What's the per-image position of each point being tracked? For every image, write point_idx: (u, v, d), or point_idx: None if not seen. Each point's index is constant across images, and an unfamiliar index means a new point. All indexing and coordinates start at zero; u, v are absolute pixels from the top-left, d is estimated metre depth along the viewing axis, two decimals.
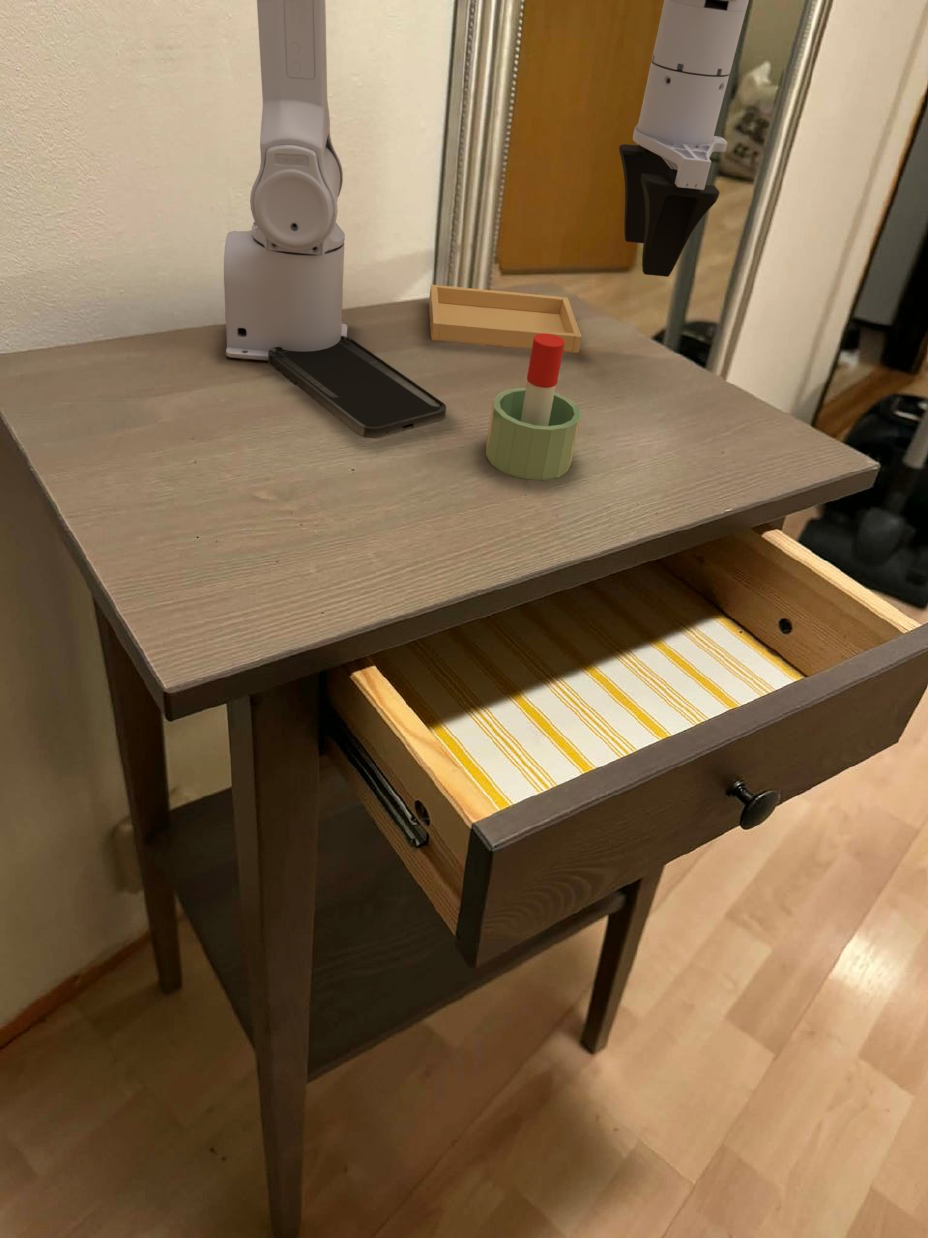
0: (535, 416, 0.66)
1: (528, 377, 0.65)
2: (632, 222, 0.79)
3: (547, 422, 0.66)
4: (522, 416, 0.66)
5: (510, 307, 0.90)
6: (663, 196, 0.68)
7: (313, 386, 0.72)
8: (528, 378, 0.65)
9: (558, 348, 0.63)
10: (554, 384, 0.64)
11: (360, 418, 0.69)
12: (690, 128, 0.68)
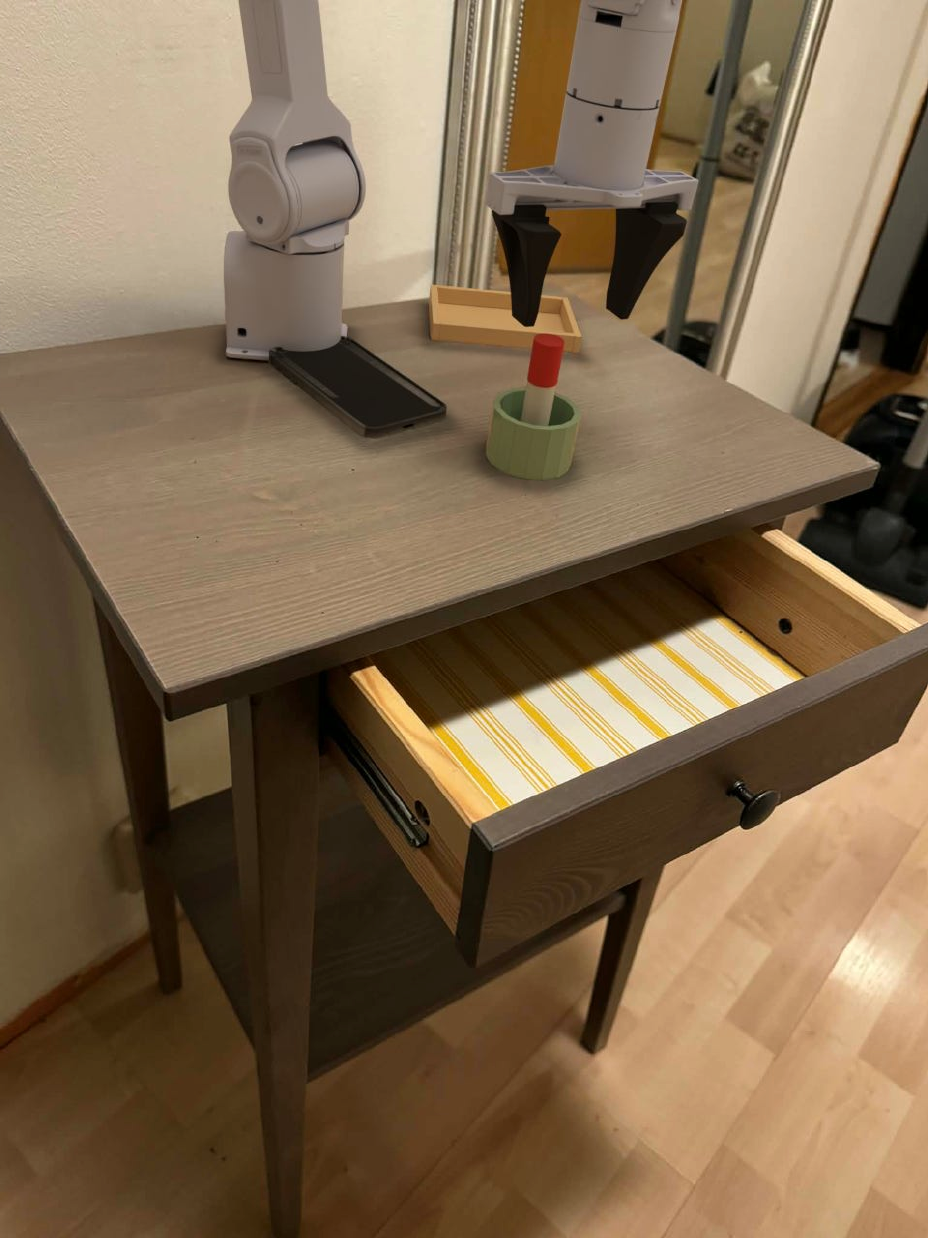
0: (535, 416, 0.66)
1: (528, 377, 0.65)
2: (612, 287, 0.66)
3: (547, 422, 0.66)
4: (522, 416, 0.66)
5: (510, 307, 0.90)
6: (498, 219, 0.60)
7: (313, 386, 0.72)
8: (528, 378, 0.65)
9: (558, 348, 0.63)
10: (554, 384, 0.64)
11: (360, 418, 0.69)
12: (564, 159, 0.58)
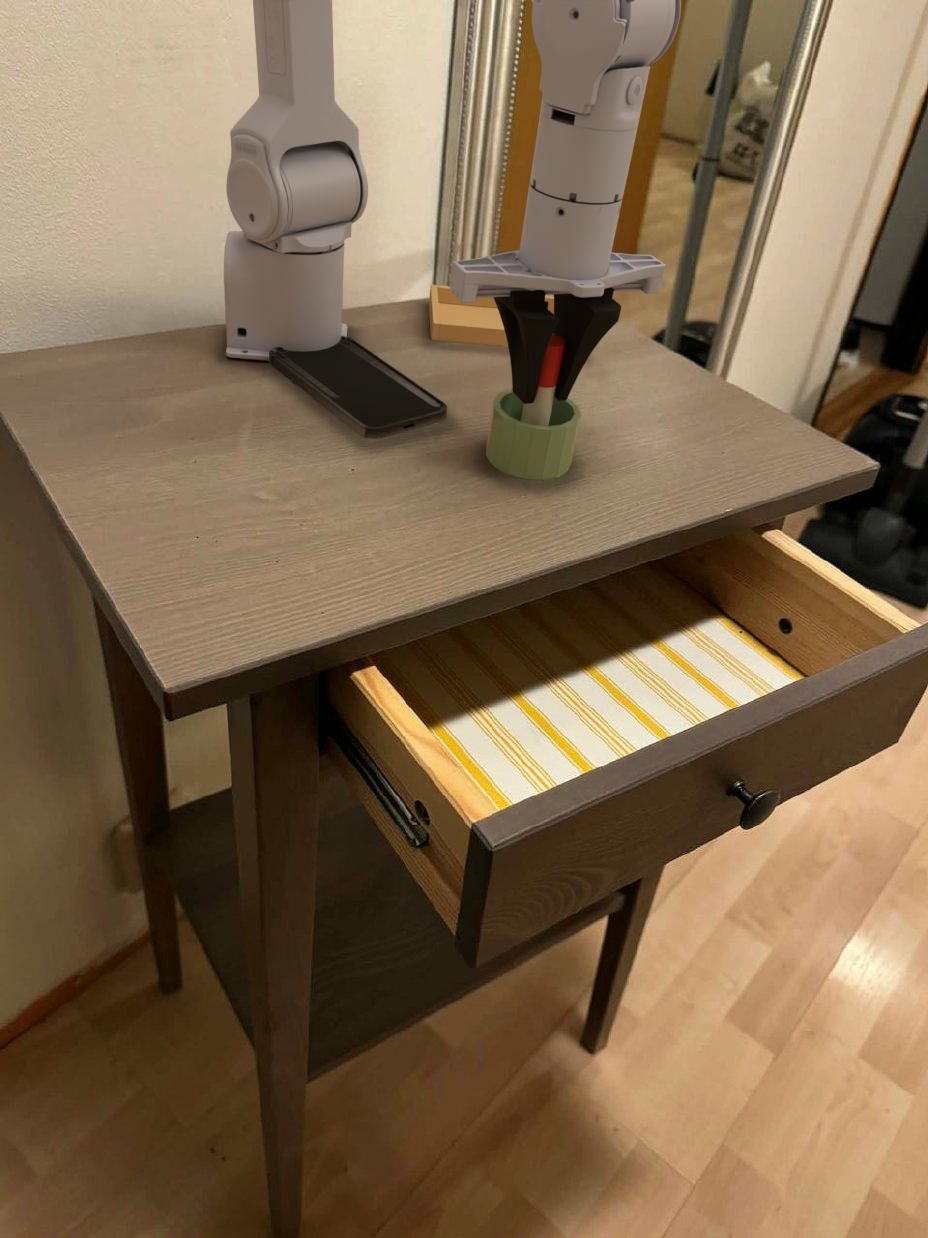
0: (535, 416, 0.66)
1: None
2: None
3: (547, 422, 0.66)
4: (522, 416, 0.66)
5: None
6: (498, 301, 0.61)
7: (314, 386, 0.72)
8: None
9: (558, 348, 0.63)
10: (554, 384, 0.64)
11: (361, 418, 0.69)
12: (527, 248, 0.58)
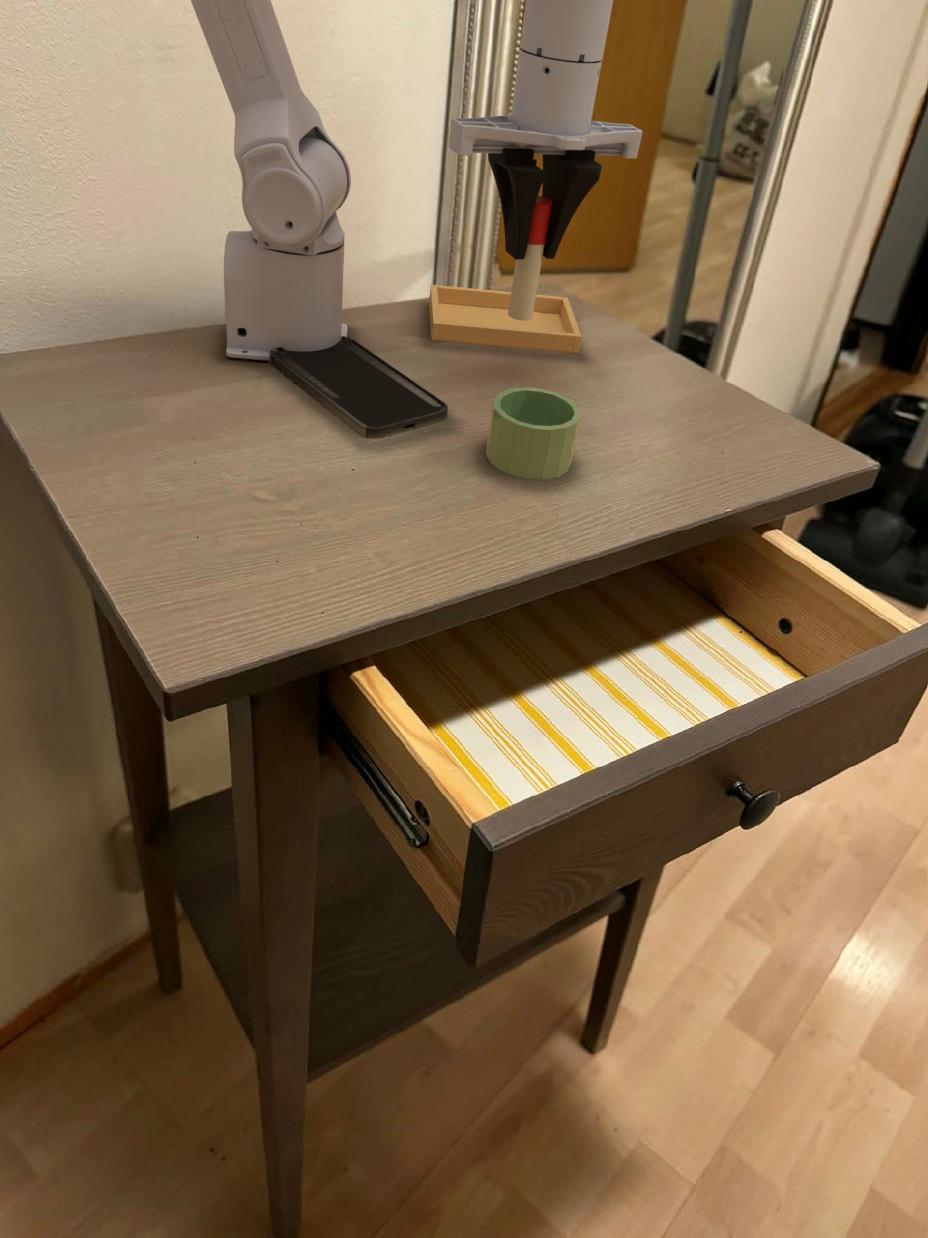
0: (525, 273, 0.73)
1: None
2: None
3: (537, 280, 0.74)
4: (514, 274, 0.74)
5: None
6: (492, 162, 0.69)
7: (315, 386, 0.72)
8: None
9: (546, 206, 0.70)
10: (543, 242, 0.72)
11: (362, 418, 0.69)
12: (517, 107, 0.66)
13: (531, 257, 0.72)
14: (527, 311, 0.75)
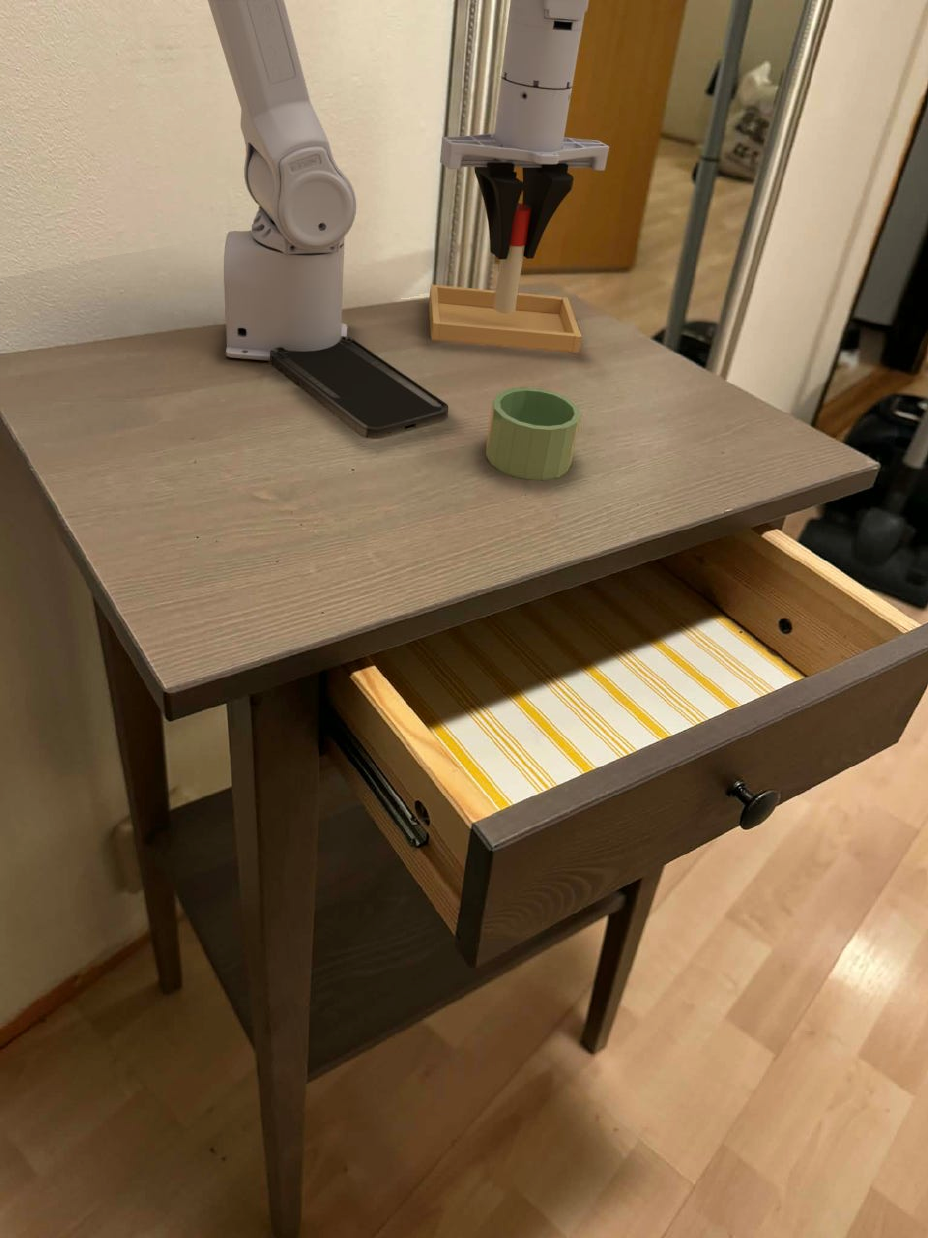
0: (508, 271, 0.83)
1: None
2: None
3: (518, 277, 0.84)
4: (498, 272, 0.84)
5: None
6: (478, 174, 0.79)
7: (315, 387, 0.72)
8: None
9: (526, 212, 0.80)
10: (523, 244, 0.82)
11: (362, 418, 0.69)
12: (499, 127, 0.75)
13: (513, 257, 0.82)
14: (510, 305, 0.85)
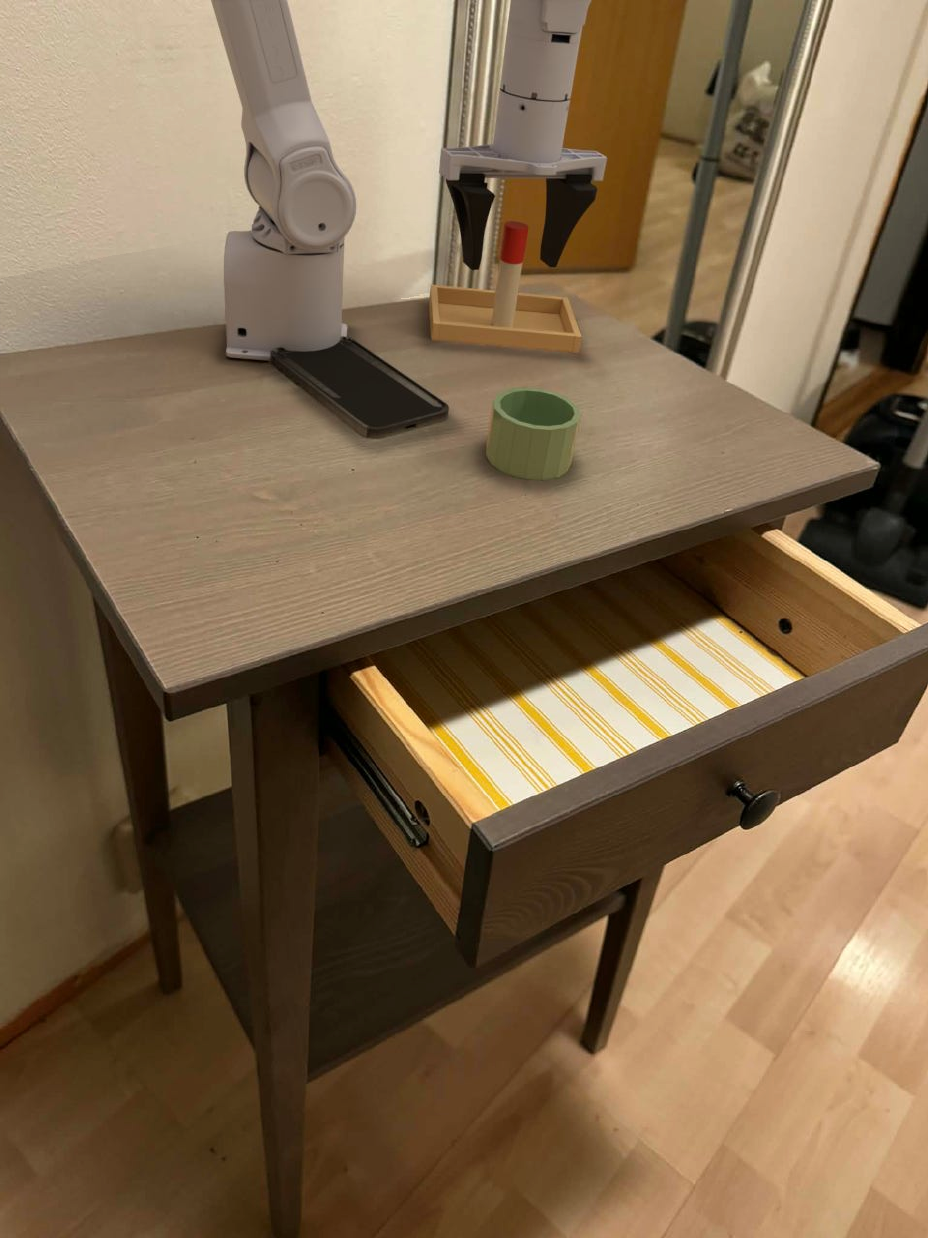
0: (506, 288, 0.84)
1: (500, 256, 0.83)
2: (544, 242, 0.85)
3: (516, 294, 0.85)
4: (496, 289, 0.85)
5: None
6: (449, 184, 0.79)
7: (315, 387, 0.72)
8: (500, 257, 0.83)
9: (523, 231, 0.81)
10: (521, 261, 0.83)
11: (363, 418, 0.69)
12: (498, 139, 0.76)
13: (511, 275, 0.83)
14: (508, 321, 0.86)
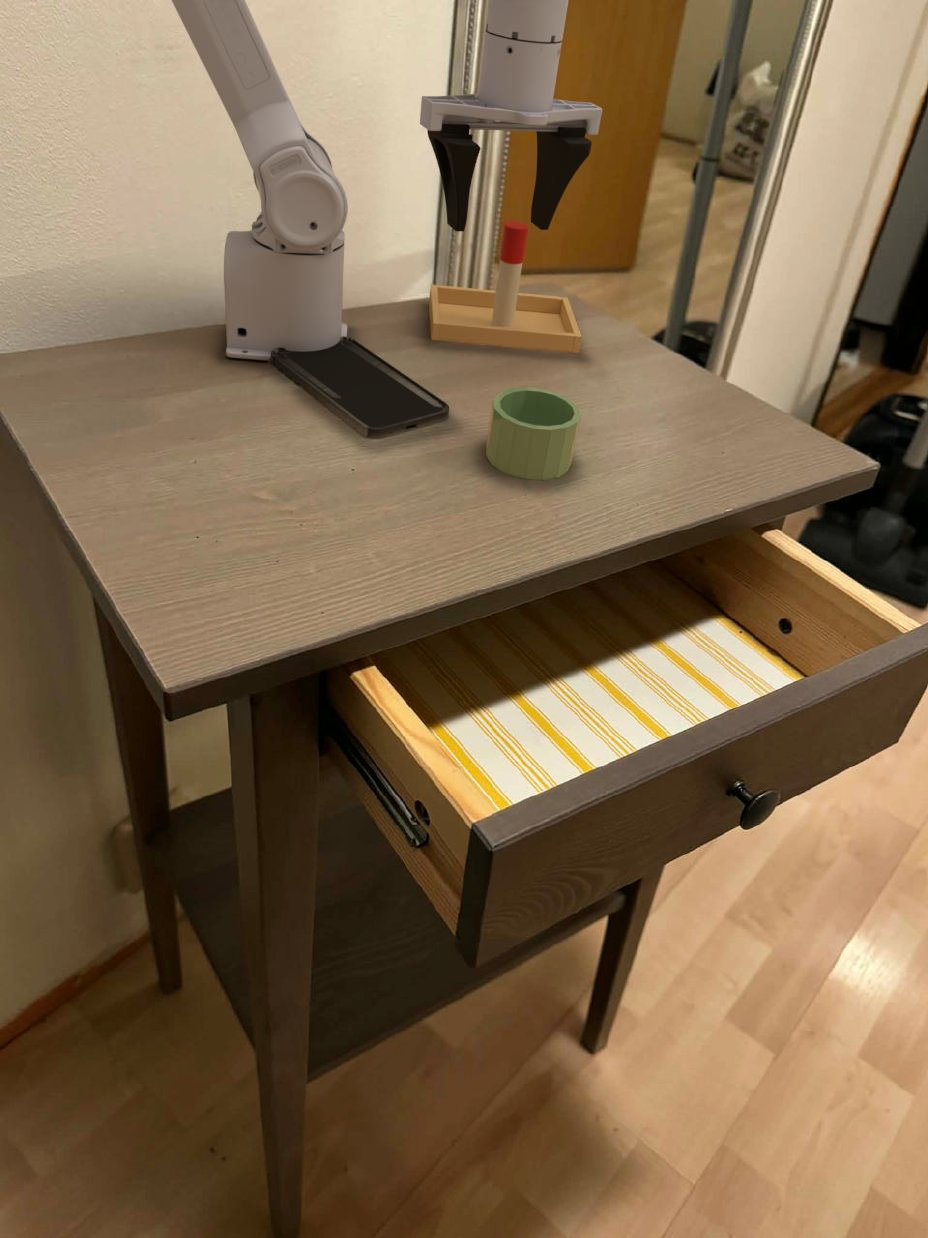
0: (506, 288, 0.84)
1: (500, 256, 0.83)
2: (535, 203, 0.79)
3: (516, 294, 0.85)
4: (496, 289, 0.85)
5: None
6: (431, 137, 0.72)
7: (316, 387, 0.72)
8: (500, 257, 0.83)
9: (523, 231, 0.81)
10: (521, 261, 0.83)
11: (363, 419, 0.69)
12: (483, 86, 0.70)
13: (511, 275, 0.83)
14: (508, 321, 0.86)
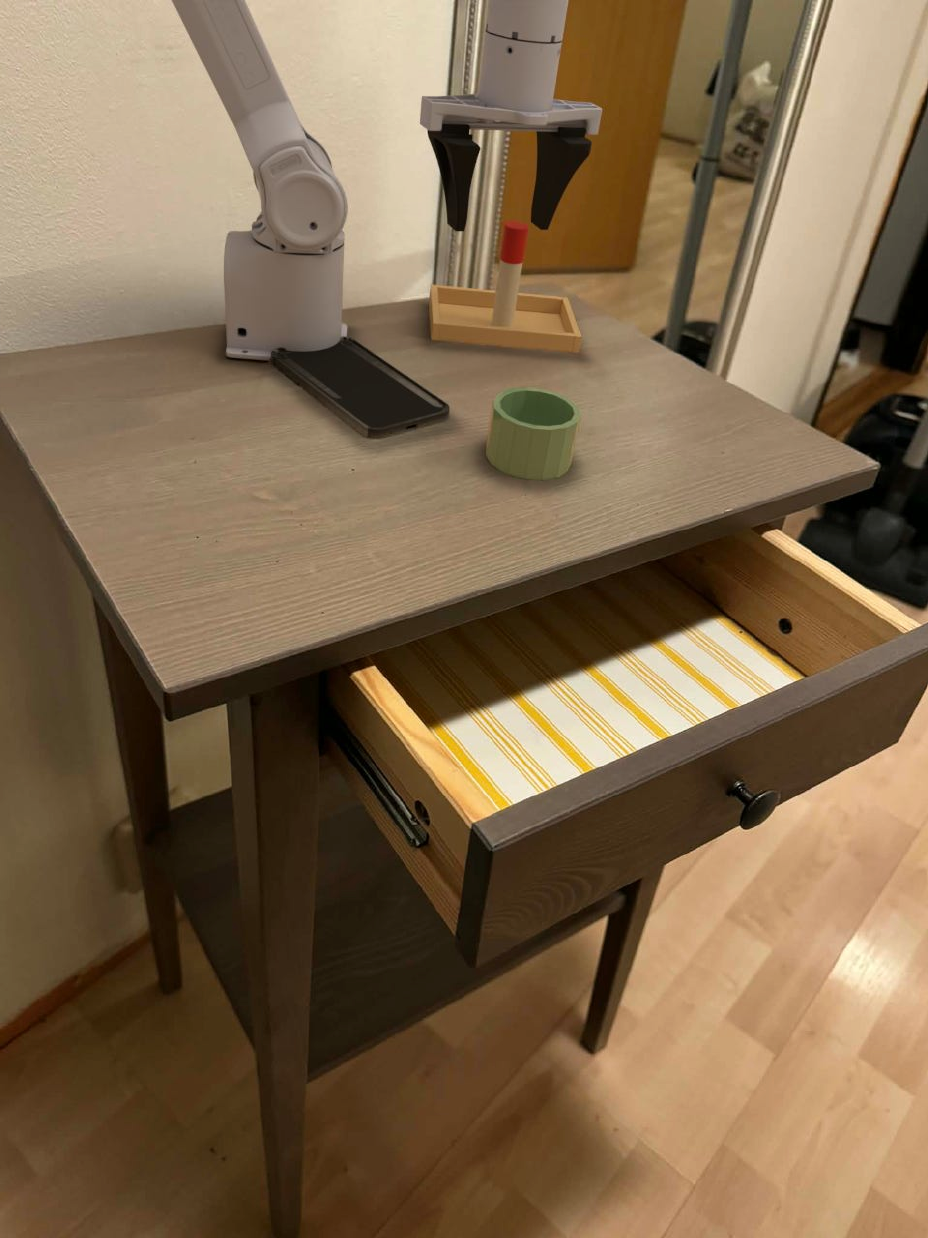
0: (506, 288, 0.84)
1: (500, 256, 0.83)
2: (535, 203, 0.79)
3: (516, 294, 0.85)
4: (496, 289, 0.85)
5: None
6: (431, 137, 0.72)
7: (316, 387, 0.72)
8: (500, 257, 0.83)
9: (523, 231, 0.81)
10: (521, 261, 0.83)
11: (364, 419, 0.69)
12: (483, 86, 0.70)
13: (511, 275, 0.83)
14: (508, 321, 0.86)
